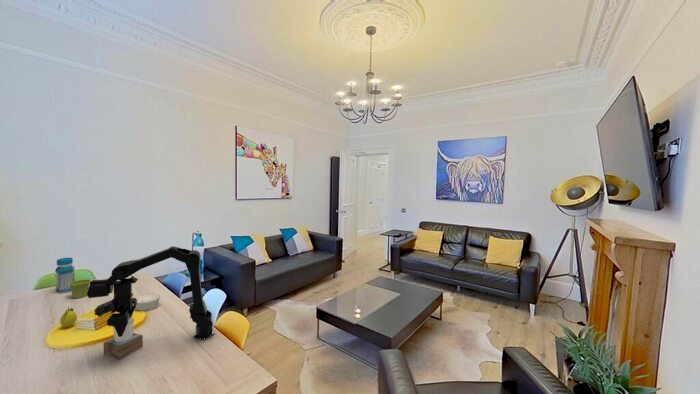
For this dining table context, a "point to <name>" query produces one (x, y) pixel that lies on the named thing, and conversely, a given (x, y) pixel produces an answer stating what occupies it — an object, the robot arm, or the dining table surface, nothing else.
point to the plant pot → (79, 288)
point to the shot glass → (125, 332)
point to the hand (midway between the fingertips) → (123, 330)
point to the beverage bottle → (64, 275)
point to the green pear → (68, 317)
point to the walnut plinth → (123, 346)
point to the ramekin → (147, 302)
